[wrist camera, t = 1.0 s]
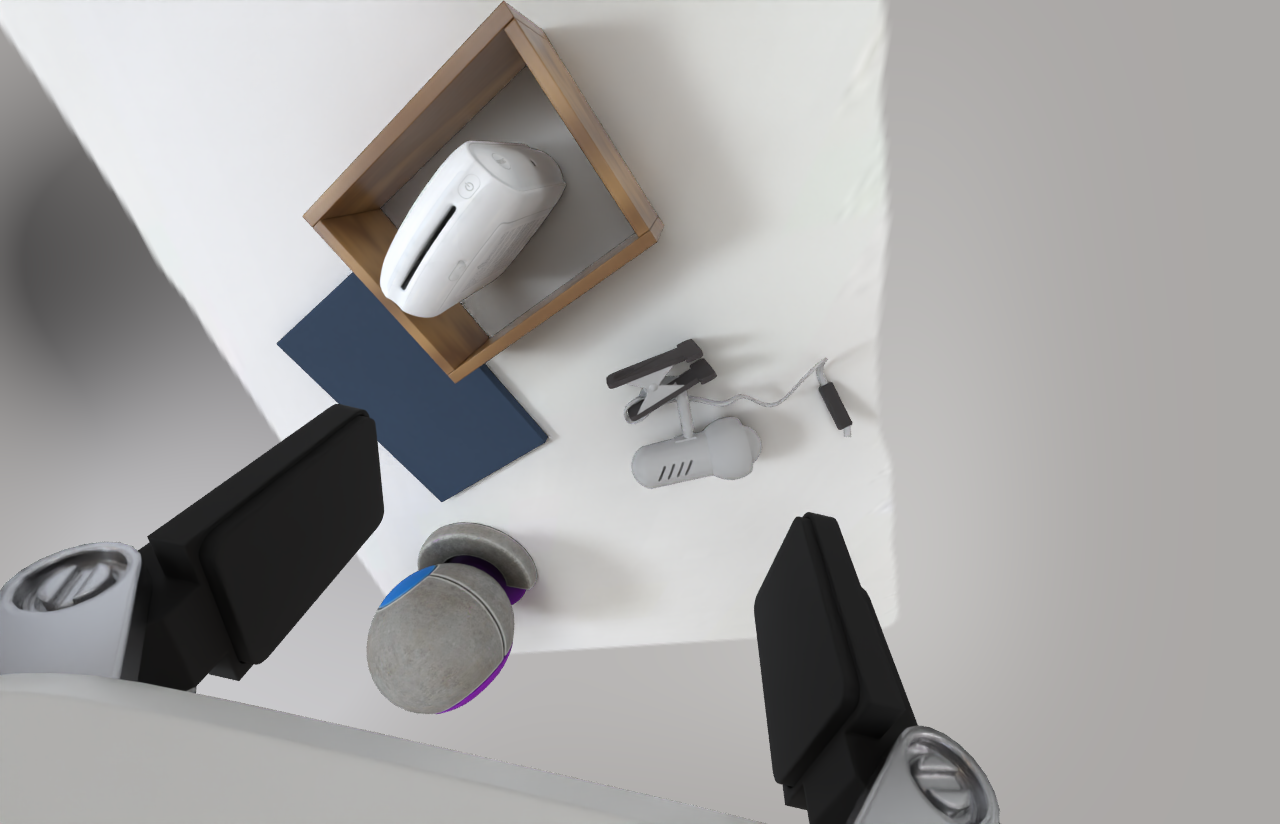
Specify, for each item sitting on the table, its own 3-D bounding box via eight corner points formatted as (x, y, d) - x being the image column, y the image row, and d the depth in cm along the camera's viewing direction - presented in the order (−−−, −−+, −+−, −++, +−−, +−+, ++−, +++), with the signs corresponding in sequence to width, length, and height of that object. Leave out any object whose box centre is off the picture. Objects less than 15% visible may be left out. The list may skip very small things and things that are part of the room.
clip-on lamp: (821, 306, 38) (602, 357, 38) (863, 320, 32) (603, 381, 32) (830, 436, 42) (634, 482, 42) (868, 470, 36) (640, 524, 36)
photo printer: (529, 131, 32) (440, 122, 21) (578, 180, 33) (518, 196, 22) (450, 247, 36) (344, 289, 25) (496, 286, 37) (412, 343, 26)
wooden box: (365, 205, 35) (301, 216, 29) (541, 28, 29) (503, 0, 23) (489, 350, 40) (455, 384, 34) (664, 226, 34) (657, 241, 28)
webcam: (481, 618, 57) (416, 755, 44) (400, 551, 53) (302, 682, 40) (559, 580, 53) (512, 722, 40) (476, 503, 48) (394, 634, 35)
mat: (284, 339, 42) (275, 343, 41) (383, 247, 36) (376, 249, 36) (446, 496, 48) (441, 502, 48) (548, 436, 43) (545, 442, 43)
